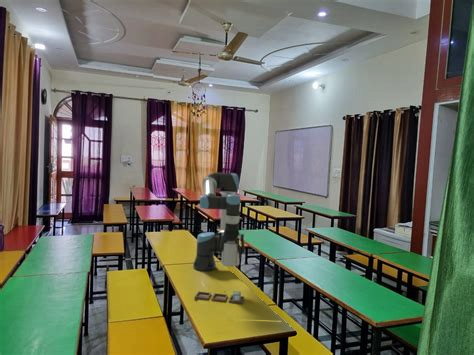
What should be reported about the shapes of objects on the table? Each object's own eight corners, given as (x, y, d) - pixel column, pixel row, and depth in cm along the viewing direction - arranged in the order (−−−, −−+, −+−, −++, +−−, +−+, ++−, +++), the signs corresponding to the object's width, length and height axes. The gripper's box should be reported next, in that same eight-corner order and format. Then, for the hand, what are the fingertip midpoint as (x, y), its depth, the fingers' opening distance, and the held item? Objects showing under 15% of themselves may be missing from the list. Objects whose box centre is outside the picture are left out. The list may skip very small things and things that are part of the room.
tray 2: (214, 296, 182) (214, 293, 182) (227, 297, 181) (227, 294, 181) (211, 301, 175) (211, 298, 175) (225, 303, 174) (225, 300, 174)
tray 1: (198, 294, 183) (198, 291, 183) (211, 295, 182) (211, 292, 182) (194, 299, 176) (194, 296, 176) (207, 301, 175) (208, 298, 175)
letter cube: (232, 298, 178) (233, 290, 178) (240, 298, 179) (240, 291, 178) (232, 302, 174) (233, 294, 174) (240, 302, 174) (241, 294, 174)
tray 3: (230, 298, 181) (230, 295, 181) (244, 299, 180) (244, 296, 180) (228, 303, 174) (228, 300, 173) (242, 305, 173) (242, 302, 172)
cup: (235, 267, 183) (236, 245, 183) (221, 265, 184) (222, 243, 185) (238, 263, 190) (240, 242, 191) (224, 262, 192) (226, 241, 192)
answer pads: (201, 287, 193) (201, 287, 193) (247, 292, 189) (247, 291, 189) (198, 292, 185) (198, 292, 185) (245, 298, 181) (245, 297, 181)
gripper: (212, 222, 185) (210, 263, 186) (250, 225, 181) (247, 267, 182) (215, 220, 192) (213, 260, 193) (252, 223, 189) (249, 263, 189)
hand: (230, 263), depth 187 cm, fingers closed on cup, 8 cm apart
